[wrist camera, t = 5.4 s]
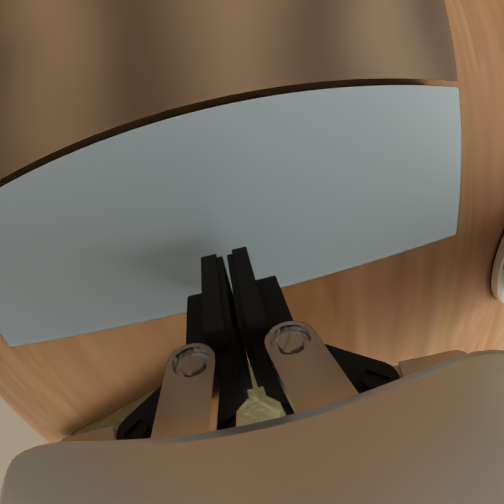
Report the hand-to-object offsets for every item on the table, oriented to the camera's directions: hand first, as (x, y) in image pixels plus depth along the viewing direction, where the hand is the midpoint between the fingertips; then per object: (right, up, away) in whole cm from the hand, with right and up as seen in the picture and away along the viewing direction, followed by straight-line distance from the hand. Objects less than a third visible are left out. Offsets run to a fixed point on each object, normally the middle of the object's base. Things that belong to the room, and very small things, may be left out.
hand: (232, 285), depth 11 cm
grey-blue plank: (-2, +3, +2) cm, 4 cm away
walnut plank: (-3, +11, -2) cm, 11 cm away
